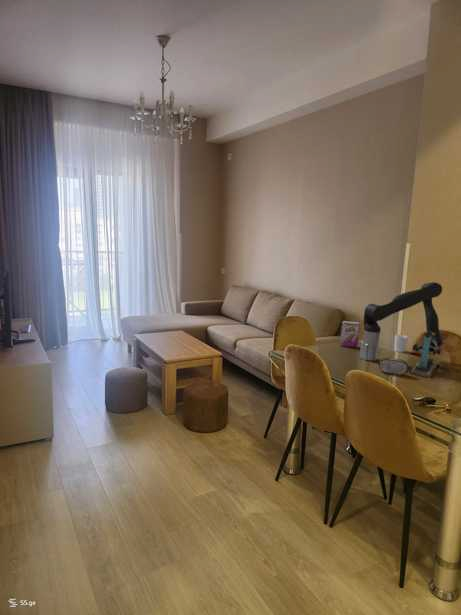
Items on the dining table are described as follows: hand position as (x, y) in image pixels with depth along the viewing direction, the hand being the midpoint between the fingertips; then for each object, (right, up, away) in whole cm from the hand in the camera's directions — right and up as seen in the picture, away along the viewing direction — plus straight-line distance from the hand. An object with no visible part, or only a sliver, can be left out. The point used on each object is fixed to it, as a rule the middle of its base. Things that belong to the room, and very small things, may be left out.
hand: (425, 351), depth 236 cm
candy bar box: (-29, -2, +50) cm, 58 cm away
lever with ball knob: (+2, -10, +6) cm, 11 cm away
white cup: (+4, -5, +46) cm, 47 cm away
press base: (+4, -11, +9) cm, 15 cm away
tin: (-19, -12, -4) cm, 23 cm away
